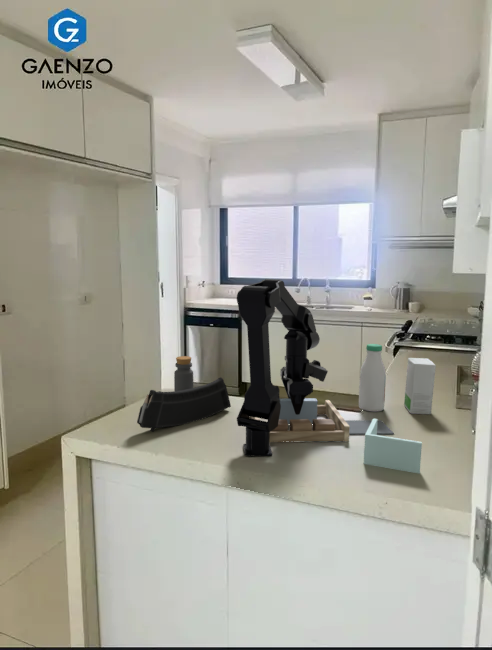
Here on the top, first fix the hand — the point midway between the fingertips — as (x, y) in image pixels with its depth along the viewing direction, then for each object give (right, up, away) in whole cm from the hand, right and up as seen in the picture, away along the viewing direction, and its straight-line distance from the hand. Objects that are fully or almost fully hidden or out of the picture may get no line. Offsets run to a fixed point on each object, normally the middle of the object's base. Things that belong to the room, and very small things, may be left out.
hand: (294, 409), depth 134 cm
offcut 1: (-5, -6, -9) cm, 12 cm away
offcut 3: (+7, -6, -8) cm, 12 cm away
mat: (+19, -5, -2) cm, 19 cm away
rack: (0, -5, -2) cm, 5 cm away
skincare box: (+39, -3, +14) cm, 42 cm away
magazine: (-30, -4, +2) cm, 30 cm away
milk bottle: (+25, -3, +15) cm, 30 cm away
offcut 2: (+1, -6, -9) cm, 10 cm away
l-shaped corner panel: (+21, -9, -22) cm, 31 cm away
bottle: (-33, -2, +17) cm, 37 cm away
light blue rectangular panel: (0, -4, +1) cm, 4 cm away
